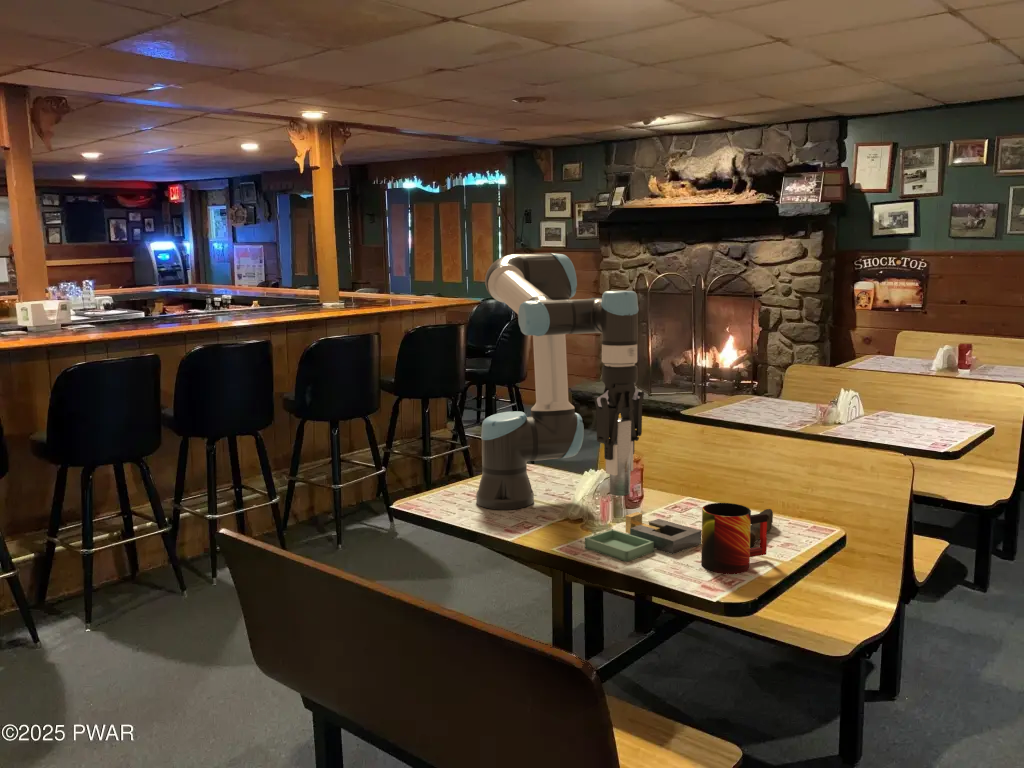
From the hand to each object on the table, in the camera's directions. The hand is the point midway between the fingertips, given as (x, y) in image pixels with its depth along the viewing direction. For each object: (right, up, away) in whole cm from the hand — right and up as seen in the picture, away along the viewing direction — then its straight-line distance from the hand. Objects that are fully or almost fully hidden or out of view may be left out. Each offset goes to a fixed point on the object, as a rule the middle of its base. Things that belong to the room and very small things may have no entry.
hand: (619, 471), depth 180 cm
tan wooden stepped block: (+7, -16, +11) cm, 21 cm away
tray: (0, -17, +3) cm, 17 cm away
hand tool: (+33, -16, +11) cm, 38 cm away
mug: (+22, -19, -6) cm, 30 cm away
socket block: (+11, -17, +7) cm, 21 cm away
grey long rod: (0, -5, +1) cm, 5 cm away
